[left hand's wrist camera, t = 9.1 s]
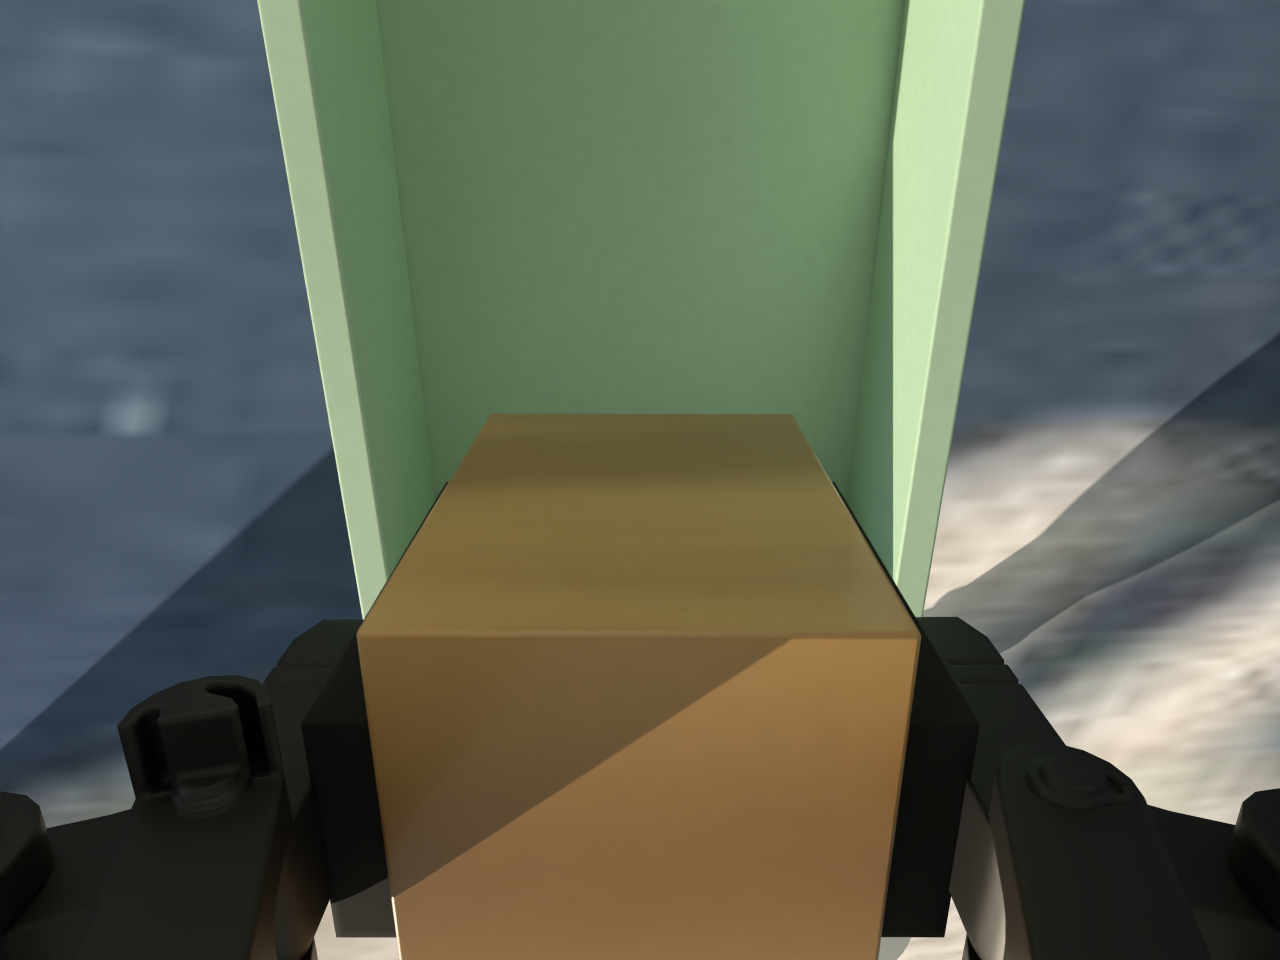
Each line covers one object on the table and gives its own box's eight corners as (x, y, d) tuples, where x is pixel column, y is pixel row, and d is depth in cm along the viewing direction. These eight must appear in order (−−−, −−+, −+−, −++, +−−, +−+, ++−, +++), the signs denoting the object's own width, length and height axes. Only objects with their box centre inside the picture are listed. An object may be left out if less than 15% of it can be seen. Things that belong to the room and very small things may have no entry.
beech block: (489, 412, 14) (353, 631, 7) (793, 413, 14) (923, 634, 7) (506, 672, 16) (408, 1036, 9) (776, 674, 16) (869, 1039, 9)
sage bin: (418, 515, 26) (286, 780, 16) (277, -572, 16) (-280, -1574, 6) (864, 513, 26) (1001, 776, 16) (999, -574, 16) (1558, -1575, 6)
